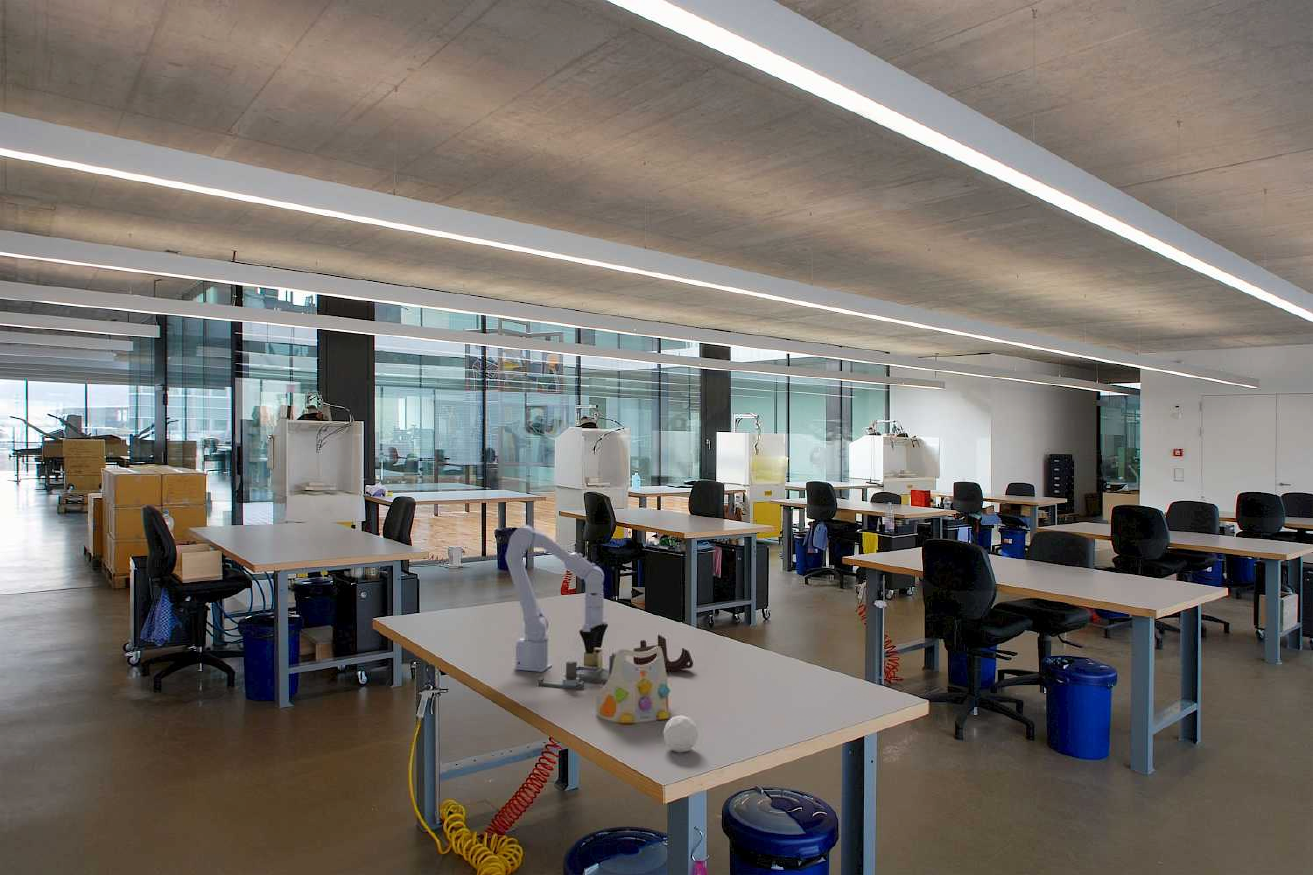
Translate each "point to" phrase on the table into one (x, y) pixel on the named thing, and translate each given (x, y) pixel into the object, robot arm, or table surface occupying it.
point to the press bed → (595, 672)
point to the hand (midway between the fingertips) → (593, 650)
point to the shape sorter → (635, 689)
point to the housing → (593, 658)
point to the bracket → (674, 665)
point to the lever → (571, 674)
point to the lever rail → (559, 684)
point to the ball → (680, 733)
